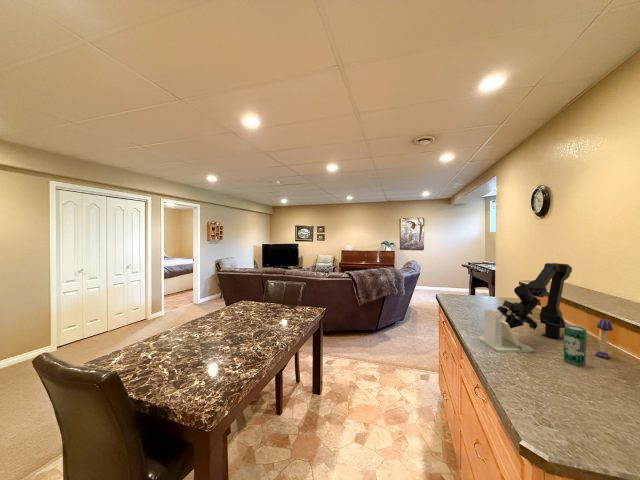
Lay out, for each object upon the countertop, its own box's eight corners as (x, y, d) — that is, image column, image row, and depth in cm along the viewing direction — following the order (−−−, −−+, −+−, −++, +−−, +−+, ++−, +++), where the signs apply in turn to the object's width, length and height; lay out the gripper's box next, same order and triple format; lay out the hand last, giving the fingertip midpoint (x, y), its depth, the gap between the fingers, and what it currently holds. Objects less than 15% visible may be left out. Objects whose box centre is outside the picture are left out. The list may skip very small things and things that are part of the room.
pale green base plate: (509, 337, 129) (509, 333, 129) (534, 351, 114) (534, 346, 114) (477, 338, 129) (477, 333, 129) (497, 352, 114) (497, 347, 114)
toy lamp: (606, 355, 111) (607, 318, 110) (615, 360, 106) (616, 322, 106) (592, 353, 112) (593, 317, 112) (600, 358, 108) (601, 320, 107)
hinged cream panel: (500, 335, 128) (488, 312, 128) (520, 346, 116) (507, 321, 115) (499, 336, 128) (487, 313, 128) (518, 347, 116) (505, 322, 115)
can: (561, 360, 106) (562, 326, 106) (568, 357, 109) (569, 324, 108) (580, 367, 101) (581, 331, 100) (587, 364, 103) (588, 329, 103)
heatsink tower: (493, 339, 126) (493, 309, 125) (504, 346, 118) (505, 315, 117) (484, 339, 126) (484, 309, 125) (495, 346, 118) (495, 315, 117)
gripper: (500, 290, 130) (480, 312, 131) (530, 300, 112) (507, 325, 112) (515, 304, 131) (495, 326, 131) (548, 316, 112) (524, 341, 112)
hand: (504, 329), depth 122 cm, fingers closed, pressing on hinged cream panel
